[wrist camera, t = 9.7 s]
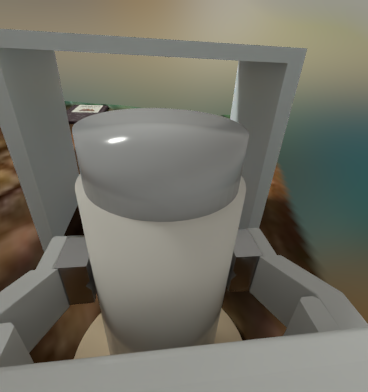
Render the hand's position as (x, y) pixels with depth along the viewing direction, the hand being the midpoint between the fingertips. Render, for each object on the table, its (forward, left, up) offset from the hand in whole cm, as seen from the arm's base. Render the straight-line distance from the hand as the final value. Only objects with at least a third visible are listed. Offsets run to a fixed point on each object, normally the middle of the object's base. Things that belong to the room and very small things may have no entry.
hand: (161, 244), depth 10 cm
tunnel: (+8, +10, -8) cm, 15 cm away
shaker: (-1, -1, -6) cm, 6 cm away
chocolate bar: (+24, +54, -8) cm, 59 cm away
